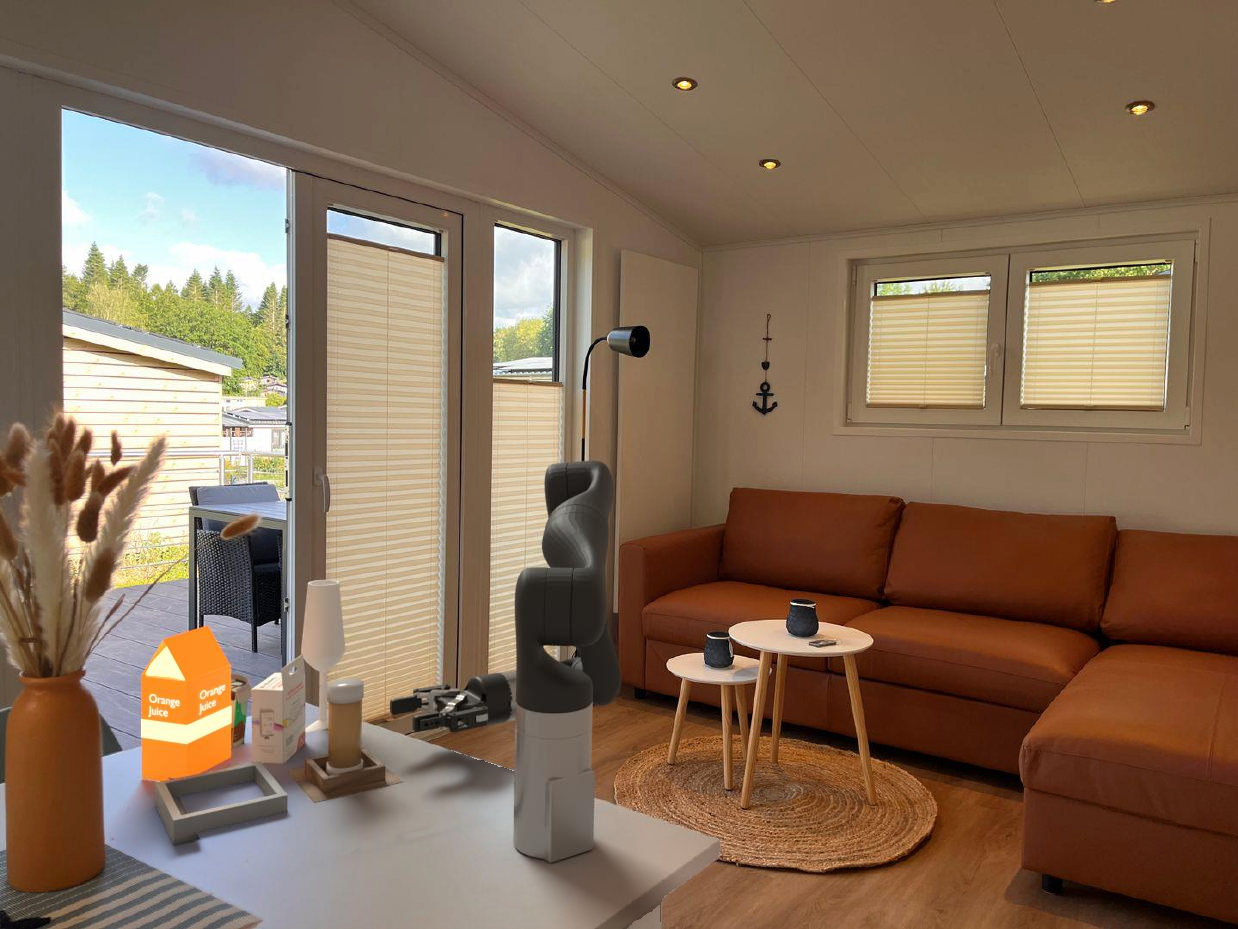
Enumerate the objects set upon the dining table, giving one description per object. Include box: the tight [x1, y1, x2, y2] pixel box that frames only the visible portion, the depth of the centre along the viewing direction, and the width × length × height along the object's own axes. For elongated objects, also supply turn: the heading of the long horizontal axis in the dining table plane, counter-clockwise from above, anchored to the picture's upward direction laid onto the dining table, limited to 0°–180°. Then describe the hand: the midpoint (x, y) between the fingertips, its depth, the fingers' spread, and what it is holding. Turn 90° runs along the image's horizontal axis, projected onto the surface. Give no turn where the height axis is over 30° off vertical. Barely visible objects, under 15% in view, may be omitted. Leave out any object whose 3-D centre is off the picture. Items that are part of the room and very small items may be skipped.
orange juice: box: [140, 624, 232, 781], centre depth 126 cm, size 8×9×20 cm
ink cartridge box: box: [250, 654, 306, 764], centre depth 131 cm, size 9×5×15 cm, turn 179°
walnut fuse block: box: [287, 746, 404, 804], centre depth 123 cm, size 12×12×3 cm
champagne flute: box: [300, 579, 346, 734], centre depth 143 cm, size 7×7×24 cm
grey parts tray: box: [154, 761, 288, 846], centre depth 114 cm, size 13×13×3 cm
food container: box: [231, 672, 253, 749], centre depth 138 cm, size 12×6×10 cm, turn 66°
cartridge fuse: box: [326, 678, 365, 776], centre depth 123 cm, size 5×5×13 cm
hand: (401, 715), depth 128 cm, fingers open, 8 cm apart
